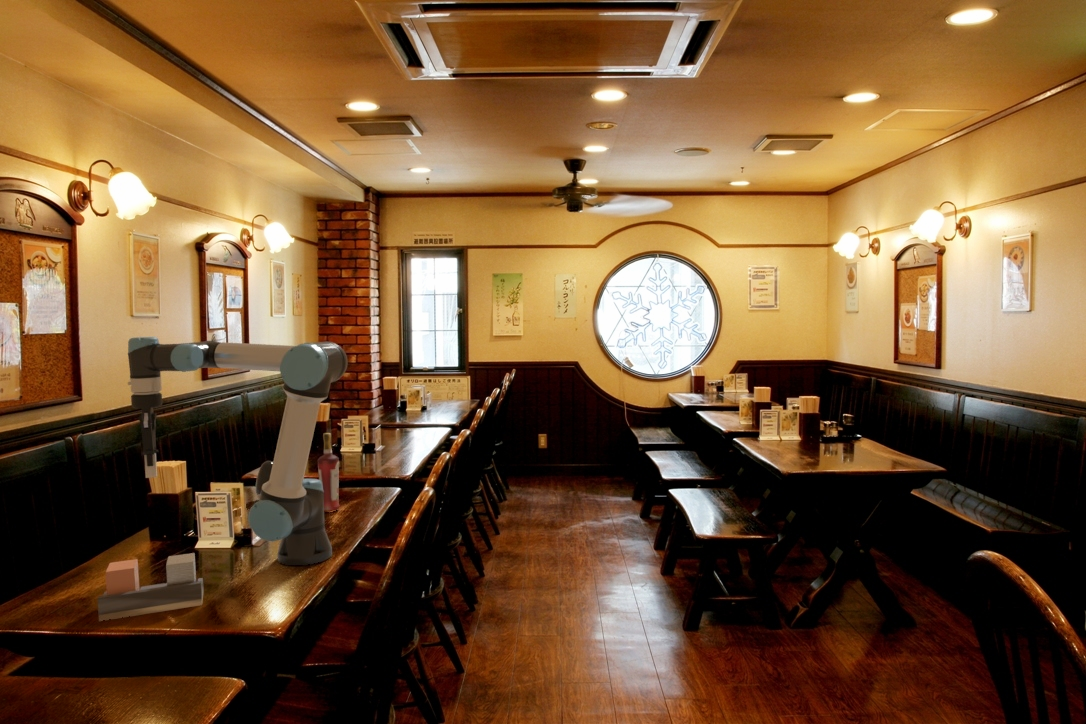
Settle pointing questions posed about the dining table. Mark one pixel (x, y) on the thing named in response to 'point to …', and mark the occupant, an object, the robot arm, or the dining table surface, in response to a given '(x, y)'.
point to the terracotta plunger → (122, 577)
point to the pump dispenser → (263, 476)
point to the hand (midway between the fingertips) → (151, 476)
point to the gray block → (181, 569)
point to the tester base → (150, 600)
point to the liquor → (329, 475)
